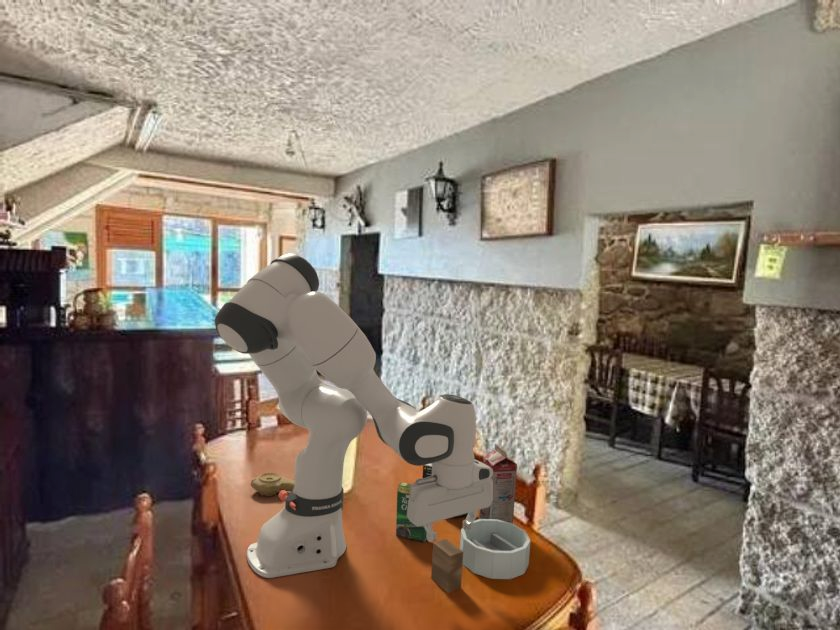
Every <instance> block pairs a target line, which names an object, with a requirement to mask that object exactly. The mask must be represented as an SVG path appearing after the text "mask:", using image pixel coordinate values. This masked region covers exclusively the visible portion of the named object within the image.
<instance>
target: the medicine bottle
mask: <svg viewBox="0 0 840 630" xmlns="http://www.w3.org/2000/svg"><path fill="white" fill-rule="evenodd" d="M429 476H432V463H430V464H426V465H422V477H421V478H426V477H429Z"/></svg>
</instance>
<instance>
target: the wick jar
mask: <svg viewBox="0 0 840 630" xmlns="http://www.w3.org/2000/svg"><path fill="white" fill-rule="evenodd" d="M459 544H460V545H459V549H460V550H462V551H463V564H462V566H464V567H465V568H467V569H468V570H469V571H470V572H471V573H473V574H475V575H479V576H482V577H485V578H488V579H491V580H492V579H493V580H512V579H514V578H517V577H519V576H522V575H525V573H526V571H527V569H528V567H529V564H530V551H531V539H530V536H529V535H528V533H527V531H526V530H525V529H523V528H521V527H520V526H518V525H516V524H514V522H513V523H509V522H505V521H501V520H498V519H479V518H478V519H475V520H474V522H473V529H472V530H469V531H466V530H464V529H463V527H462V528H461V529H460V541H459Z"/></svg>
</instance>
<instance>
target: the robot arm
mask: <svg viewBox="0 0 840 630" xmlns="http://www.w3.org/2000/svg"><path fill="white" fill-rule="evenodd" d="M319 279H320V278H319V276H318V273H317V271H316V269H315V268H314V266H313V265H312V264H311V263H310V262H309V261H308V260H306V259H305V258H304V257H302V256H299V255H298V254H294V253H286V254H282V255H281V256H280V255H279V257H276V258H275V259H273V260H272V261H270V263H269V265H267V266H265V267H264V268H262V269H261V270H259V272H257V273H255V274H254V275H253V276H252V277H251V278H249V279H248V280H247V282H246V283H245V284H244V285H243V286H242V287H241V288H240V289H239V290H238V291H237V292H236V293H235V294H234V296H232V298H231V299H230V300H229V302H225V303H224V304H223V305H222V307H221V308H220V309H219V311H217V313H216V315H215V318H214V325H215V326H214V327H215V330H216V332H217V334H218V335H219V337H220V338H221V339H222V340H223V341H224V343H225V344H226V345H227V346H229V347H230V348H231V349H233V350H234V351H236V352H239V353H241V354H246V355H247V354H249V356H250V358H251V359H252V360H253V362H254V363H255V364H256V366H257V367H258V368H259V370H260V371H261V372H262V374H263V375H264V376H265V378H266V379H267V380H268V382H269V383H270V385H271V386H272V387H273V389H274V391H275V393H276V395H277V397H278V409H279V411H280V413H281V414H282V415H283V416H284V417H285V418H286V419H288V420H289V421H290V422H291V423H292V424H294V425H296V426H298V427H301V428H304V429H306V430H308V434H309V435H308V440H307V441H308V442H307V443H306V446H305V448H303V449H302V450H301V451H299V452H298V453H297V455H296V456H295V460H294V463H295V464H294V477H293V478H294V489H293V490H292V492H290V493H288V491H285V490H282V491H280V492H278V498H279V499H280V500H281V502H285V506H284V507H283V508H281V510H279V511H278V512H277V513H276V514H274V515H273V516H272V517H271V518H270V519H268V520H267V521H266V522H265V523H264V524H263V525H262V526H261V528H260V530H259V533H258V536H257V537H258V538H257V542H253V543H251V544H250V545H249V546H248V548H247V551H246V561H247V563H248V565H249V566H250V568H251V570H253V571H254V572H255V573H256V574H257V575H259V576H261V577H262V578H267V579H272V578H277V577H284V576H290V575H295V574H300V573H306V572H313V571H319V570H325V569H330V568H334V567H335V566H337V563H338V561H339V558H340V557H342V555H343V554H344V553H345V552H346V550H347V543H346V539H345V534H344V528H343V518H342V517H343V516H342V515H343V508H344V496H345V495H344V488H343V475H344V465H345V464H344V463H345V462H344V461H345V456H346V453H347V450H348V448H349V446H350V444H351V443H352V441H353V440H354V439H356V438H357V437H359V435H360V434H362V433H363V431H364V429H365V427H366V425H367V422H368V414H369V415H370V416H371V417H372V420H373V423H374V428H375V431H376V434H377V436H378V438H379V439H380V440H381V442H383V443H384V444H385V445H386V446H388V447H389V448H390V449H392V450H393V451H394V452H395V454H397V455H398V456H399V457H400V458H401V459H402V460H404V461H405V462H406V463H407V464H410V465H411V466H416V467H417V466H418V467H419V466H420V467H421V466H423V465H426V464H430V463H432V476H429V477H426V478H422V477H419V478H417V479H416V480H415V481H414V482H413V483H411V484H412V485H411V487H410V497H409V502H408V509H407V517H408V519H409V520H410V521H411V522H412V523H413V524H414V525H416V526H422V525H423V526H424V528H425V530H426V531H427V535H426V538H427V539H426V540H427V542H429V543H432V542H433V543H434V542H437V540H438V538H437V537H438V532H437V531H434V529H432V527H433V528H434V523H436V522H439V521H444V520H448V519H450V518H451V517H452V518H456V517H455V516H458V515H462V514H465V513H468V514H467V515H466V518H465V519H463V520H462V528H463V529H464V530H466V531H469V530H472V529H473V522H474V521H475V520H476V519H477V516H479V515H478V514H479V511H480V509H483V508H487V507H489V506H490V505H491V503H492V501H493V481H492V479H491V477H492V475H493V469H492V468H490V467H489V466H487V465H486V464H484V463H483V461H481V460H480V461H479V460H477V459H475V453H473V452H474V445H475V442H476V437H477V436H476V435H477V431H476V430H477V425H476V424H477V422H476V421H477V418H476V410H475V406H474V404H473V403H472V402H471V401H470V400H468V399H467V398H465V397H462V396H459V395H455V394H446V393H445V394H440V395H438V397H437V399H436V400H435V401H434V402H432V403H431V404H429V405H428V406H427V407H425V408H423V409H420V410H418V409H416V407H414V406H413V405H412V404H410V403H408V401H407V402H406V401H404V400H402V399H399V398H397V397H396V396H395V395H393V393H392V392H391V391H390V390H389V388H388V387H387V386H386V385H385V384H384V382H383V381H382V380H381V378H380V377H379V376H378V375H377V373H376V372H375V370H374V368H375V365H376V361H377V359H376V357H377V354H376V351H375V350H374V348H373V346H372V344H371V342H370V341H369V339H368V337H367V336H366V334H365V333H364V332H363V331H362V330H361V328H360V327H359V326H358V324H357V323H355V321H354V319H352V318H351V317H350V316H349V315H348V314H347V312H345V311H344V309H342V308H341V307H340V305H338V304H337V303H335V302H334V301H333V300H332V299H331V298H330V297H329V296H327V294H324V293H323V292H320V291H318V290H319V287H320V280H319ZM318 373H319V374H321V376H322V377H323V378H325V379H326V380H327V381H329V382H330V383H331V384H332V385H334V386H335V387H334V386H332V385H329V384H328V383H326V382H324V381H323V380H322V379H321V378H320V377H319V374H318Z"/></svg>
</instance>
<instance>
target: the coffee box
mask: <svg viewBox="0 0 840 630" xmlns="http://www.w3.org/2000/svg"><path fill="white" fill-rule="evenodd" d="M412 484H413V483H411V484H410V483H407V482H400V483H399V484H398V485H397V486H396V487H397V488H396V489H397V492H396V493H397V494H396V520H395V521H396V525H395V528H396V529H395V536H398V537H401V538H406V539H411V540H414V541H418V542H423V543H424V542H426V540H427V538H426V535H427V531H426V530H425V528H424V526H423V525H422V526H416V525H414V524H413V523H412V522H411V521H410V520H409V519H408V517H407V509H408V502H409V497H410V487H411V485H412Z"/></svg>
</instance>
